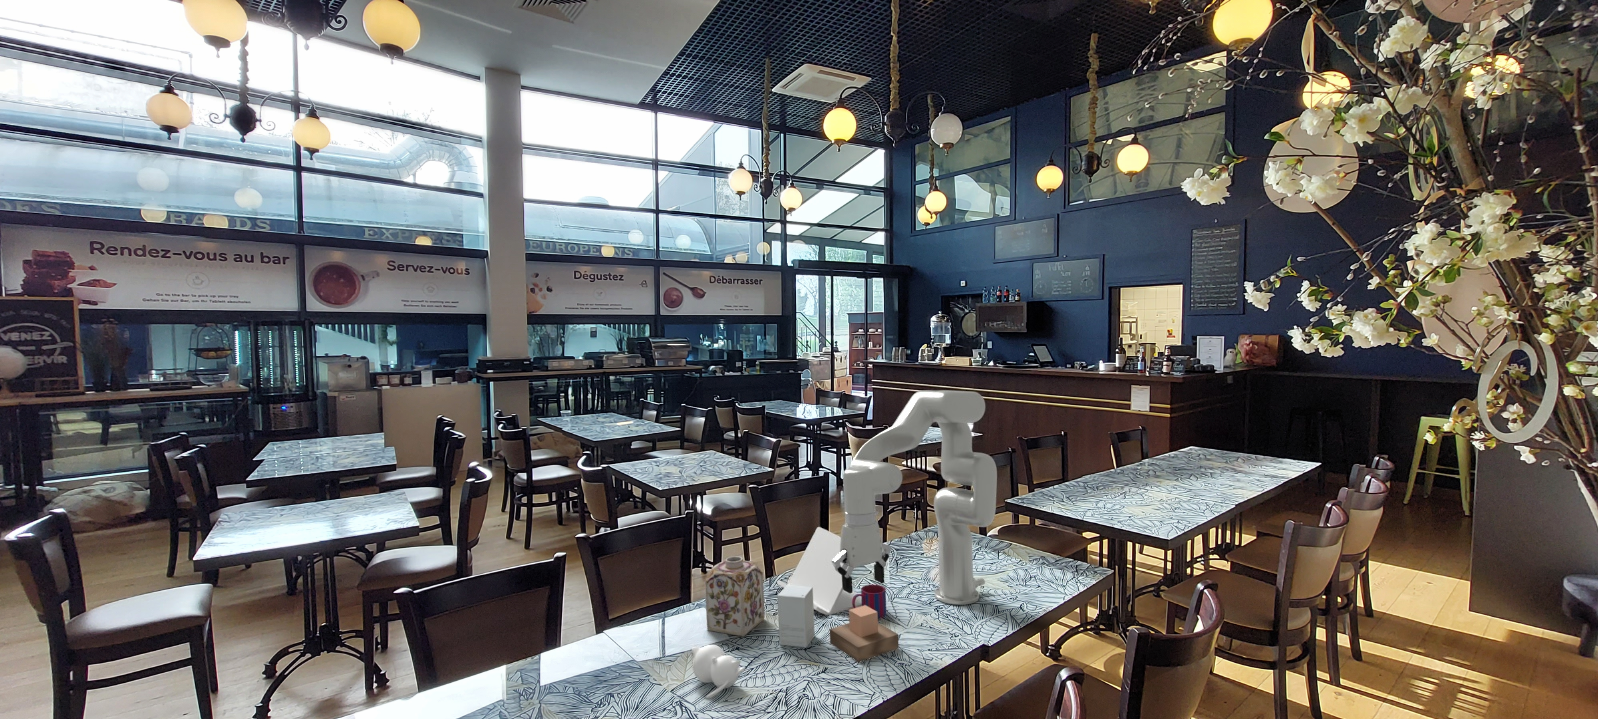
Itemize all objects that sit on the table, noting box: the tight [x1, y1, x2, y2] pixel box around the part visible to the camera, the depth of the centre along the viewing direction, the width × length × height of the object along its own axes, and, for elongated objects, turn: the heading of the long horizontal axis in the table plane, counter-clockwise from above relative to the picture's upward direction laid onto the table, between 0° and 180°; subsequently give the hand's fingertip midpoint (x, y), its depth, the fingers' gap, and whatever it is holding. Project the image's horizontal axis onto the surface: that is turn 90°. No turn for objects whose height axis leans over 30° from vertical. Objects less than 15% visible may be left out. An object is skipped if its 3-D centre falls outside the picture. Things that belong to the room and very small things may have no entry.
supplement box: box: [776, 585, 816, 648], centre depth 164 cm, size 7×7×13 cm
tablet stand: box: [776, 526, 862, 616], centre depth 192 cm, size 18×25×17 cm
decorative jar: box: [705, 555, 765, 637], centre depth 174 cm, size 12×12×18 cm
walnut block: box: [829, 622, 899, 663], centre depth 160 cm, size 12×12×4 cm
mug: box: [852, 584, 887, 619], centre depth 178 cm, size 7×10×7 cm
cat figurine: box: [691, 644, 746, 700], centre depth 143 cm, size 9×11×12 cm
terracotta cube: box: [848, 605, 879, 637], centre depth 160 cm, size 5×5×5 cm
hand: (863, 586), depth 160 cm, fingers open, 9 cm apart
